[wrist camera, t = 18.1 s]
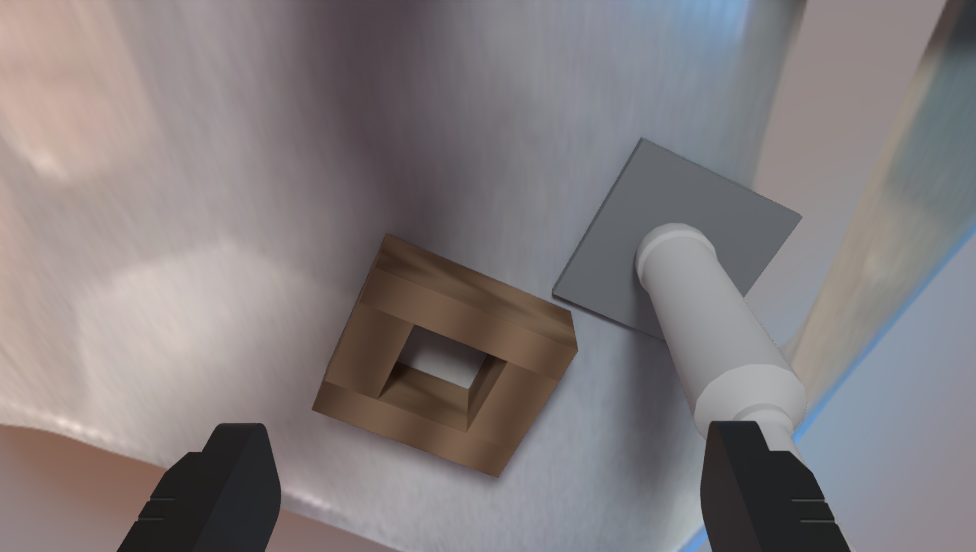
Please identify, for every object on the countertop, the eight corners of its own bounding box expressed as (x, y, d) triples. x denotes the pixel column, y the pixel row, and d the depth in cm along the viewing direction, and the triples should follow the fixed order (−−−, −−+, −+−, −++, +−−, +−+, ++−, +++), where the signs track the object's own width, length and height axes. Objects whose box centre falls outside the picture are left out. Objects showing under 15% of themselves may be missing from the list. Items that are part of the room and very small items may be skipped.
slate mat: (552, 289, 49) (552, 293, 49) (641, 137, 44) (643, 140, 44) (698, 351, 52) (700, 356, 51) (799, 213, 47) (802, 217, 46)
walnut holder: (327, 367, 52) (311, 409, 48) (386, 233, 47) (375, 267, 43) (497, 431, 55) (497, 477, 51) (570, 311, 50) (578, 350, 46)
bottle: (711, 282, 48) (896, 600, 26) (635, 294, 49) (753, 616, 27) (709, 213, 46) (909, 497, 24) (629, 226, 46) (752, 516, 24)
